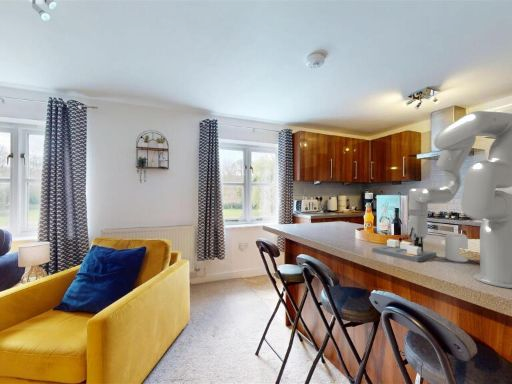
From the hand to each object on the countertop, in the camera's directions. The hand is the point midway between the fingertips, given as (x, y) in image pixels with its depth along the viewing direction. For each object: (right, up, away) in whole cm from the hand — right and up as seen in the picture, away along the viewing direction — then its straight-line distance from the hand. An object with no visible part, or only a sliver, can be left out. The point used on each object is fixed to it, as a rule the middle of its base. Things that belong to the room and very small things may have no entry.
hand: (418, 250), depth 117 cm
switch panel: (-4, -3, +6) cm, 8 cm away
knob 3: (-4, -1, -2) cm, 4 cm away
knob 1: (-5, -1, +14) cm, 14 cm away
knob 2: (-1, -1, +8) cm, 8 cm away
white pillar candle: (+14, -3, -6) cm, 15 cm away
